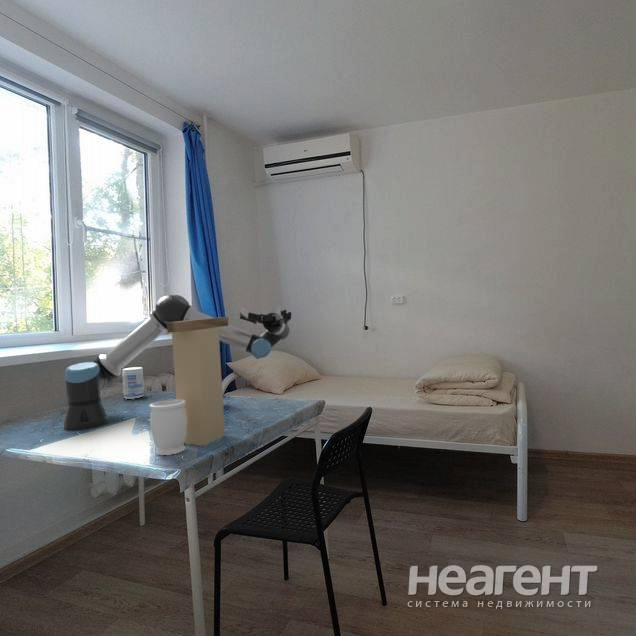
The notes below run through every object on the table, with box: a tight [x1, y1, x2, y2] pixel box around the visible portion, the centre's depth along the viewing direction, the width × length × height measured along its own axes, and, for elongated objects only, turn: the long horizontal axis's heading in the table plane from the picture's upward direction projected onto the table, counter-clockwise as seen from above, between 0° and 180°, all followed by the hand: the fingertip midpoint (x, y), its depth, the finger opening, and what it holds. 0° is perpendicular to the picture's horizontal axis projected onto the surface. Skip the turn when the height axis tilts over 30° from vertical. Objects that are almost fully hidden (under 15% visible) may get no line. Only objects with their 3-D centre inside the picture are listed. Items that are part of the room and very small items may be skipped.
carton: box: [171, 328, 226, 446], centre depth 155 cm, size 10×11×36 cm
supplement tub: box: [121, 366, 145, 400], centre depth 234 cm, size 10×10×15 cm
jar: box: [148, 398, 187, 456], centre depth 144 cm, size 11×10×15 cm
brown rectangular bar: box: [167, 316, 229, 333], centre depth 156 cm, size 4×27×3 cm, turn 157°
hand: (259, 310), depth 174 cm, fingers open, 13 cm apart
